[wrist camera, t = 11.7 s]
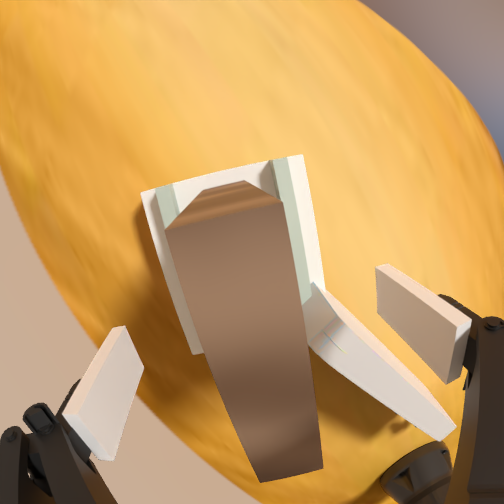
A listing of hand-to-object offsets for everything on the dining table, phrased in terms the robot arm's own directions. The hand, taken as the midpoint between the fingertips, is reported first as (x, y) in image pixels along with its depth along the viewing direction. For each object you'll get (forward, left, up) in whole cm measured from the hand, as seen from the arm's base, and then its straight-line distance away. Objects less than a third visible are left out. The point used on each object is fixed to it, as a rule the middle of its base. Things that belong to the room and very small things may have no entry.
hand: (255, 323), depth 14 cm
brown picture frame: (0, 0, -9) cm, 9 cm away
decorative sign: (-17, -13, -12) cm, 24 cm away
